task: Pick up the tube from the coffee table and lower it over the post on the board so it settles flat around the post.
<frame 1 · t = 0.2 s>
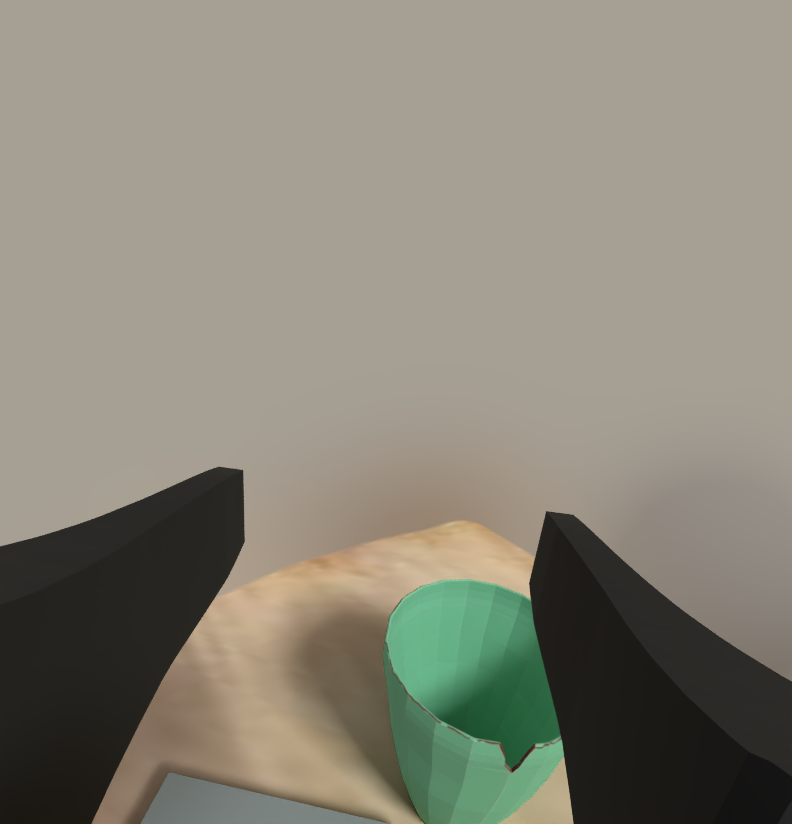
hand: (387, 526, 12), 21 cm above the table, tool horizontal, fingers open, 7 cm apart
mug: (481, 766, 28), on the table
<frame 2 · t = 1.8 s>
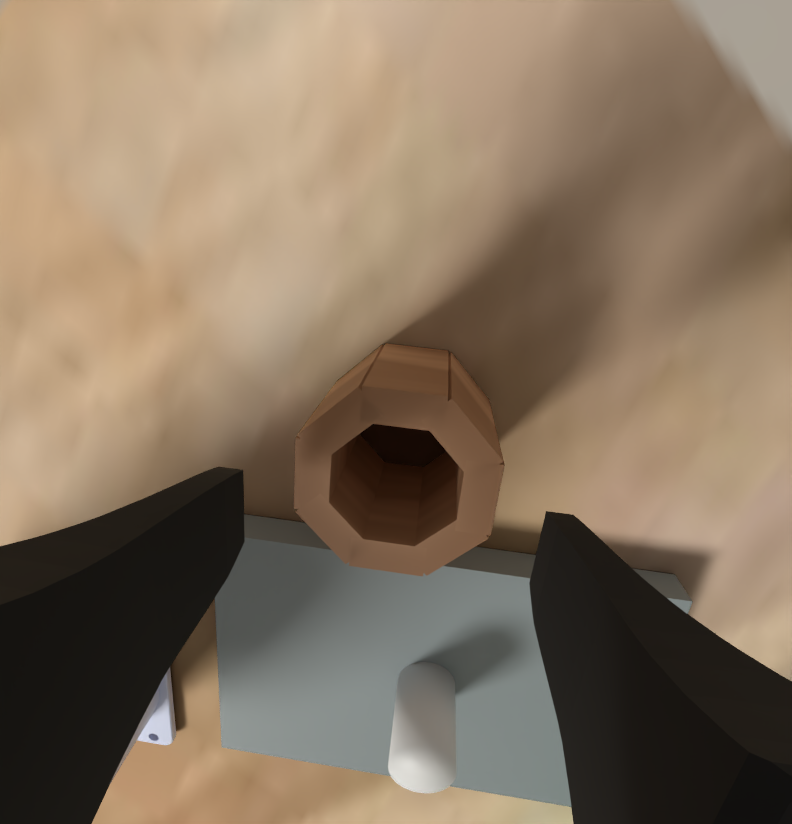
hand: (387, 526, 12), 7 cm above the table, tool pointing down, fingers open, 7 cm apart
post board: (427, 654, 22), on the table
tube: (408, 421, 18), on the table
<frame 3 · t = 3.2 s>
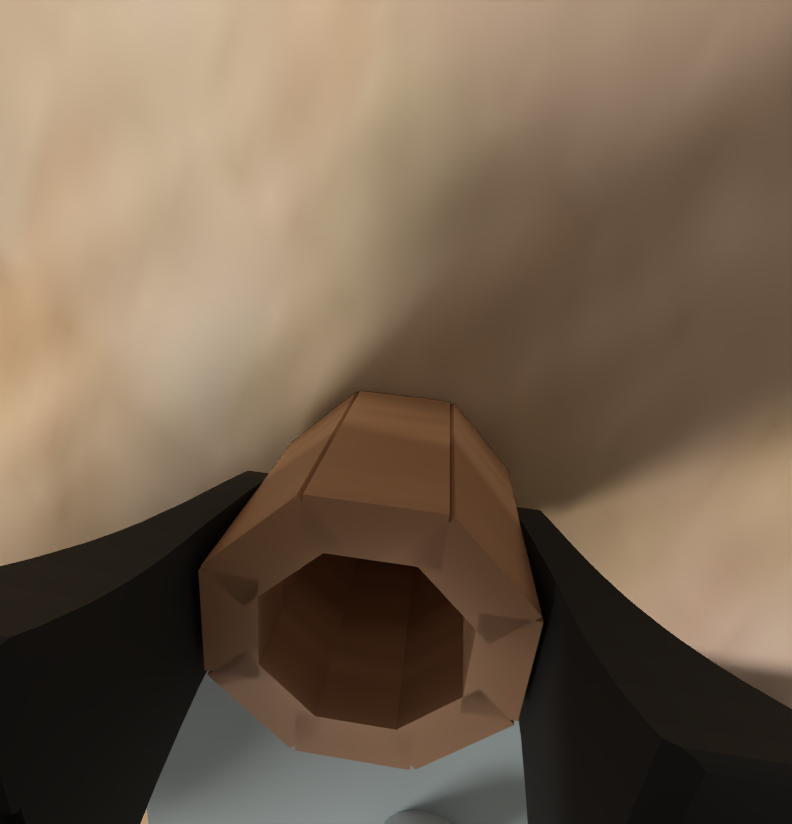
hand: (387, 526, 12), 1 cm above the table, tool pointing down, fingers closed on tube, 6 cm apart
post board: (422, 784, 17), on the table
tube: (394, 496, 13), on the table, touching gripper
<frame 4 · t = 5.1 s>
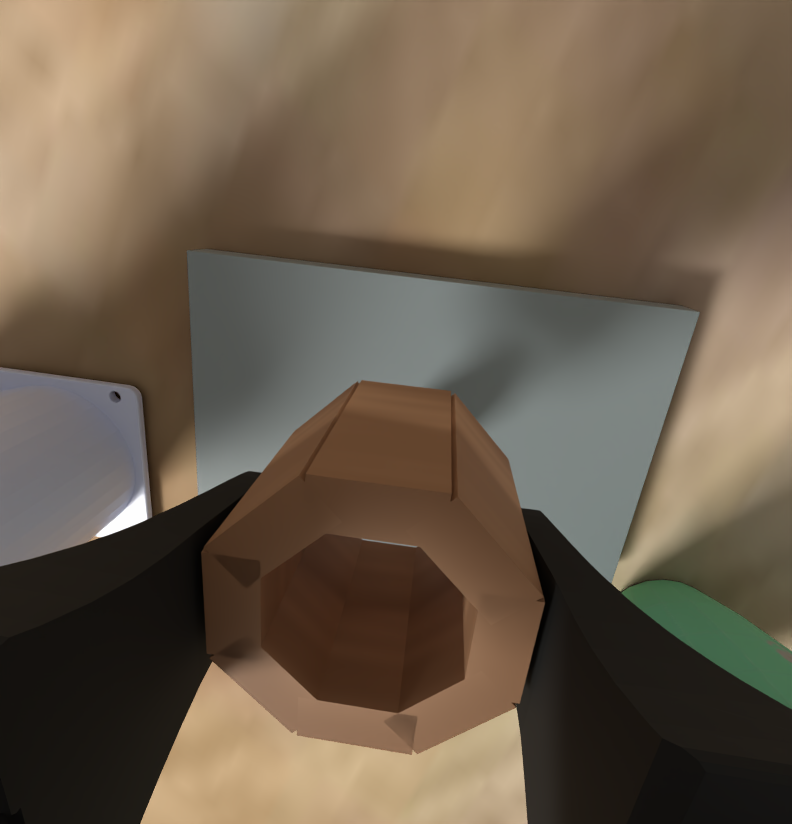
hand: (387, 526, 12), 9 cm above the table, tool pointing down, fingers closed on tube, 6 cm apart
post board: (417, 422, 21), on the table
tube: (395, 486, 13), point 8 cm above the table, touching gripper
mug: (681, 651, 24), on the table
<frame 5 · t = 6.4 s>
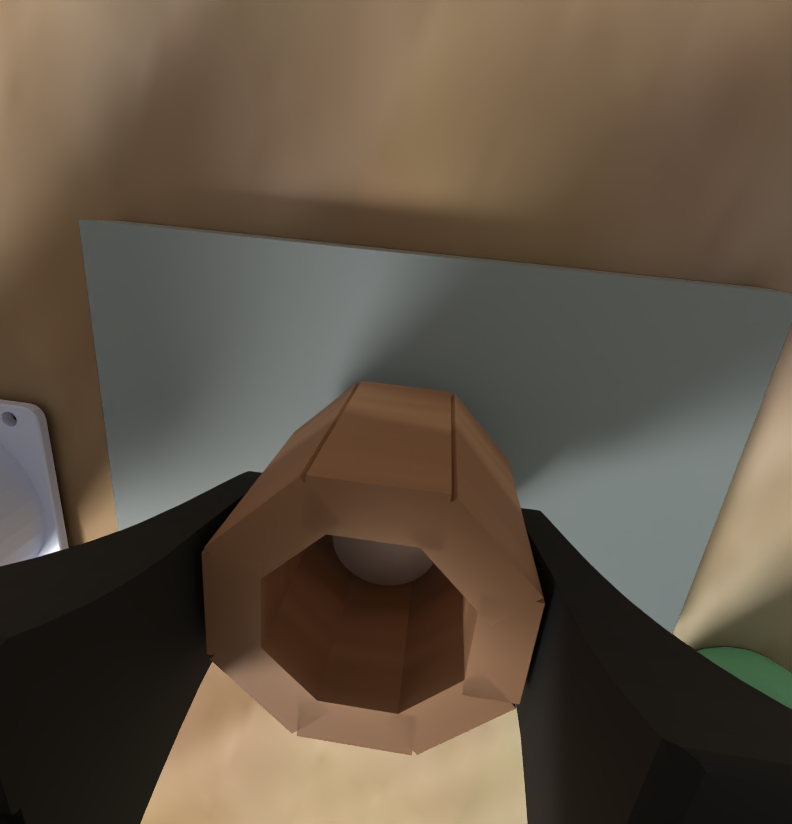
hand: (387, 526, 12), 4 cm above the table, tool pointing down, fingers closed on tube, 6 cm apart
post board: (404, 448, 16), on the table
tube: (395, 487, 13), point 3 cm above the table, touching gripper
mug: (745, 732, 19), on the table
when the fingers open (4 cm above the table, at t = 7.1 s): tube drops 1 cm, resting on post board.
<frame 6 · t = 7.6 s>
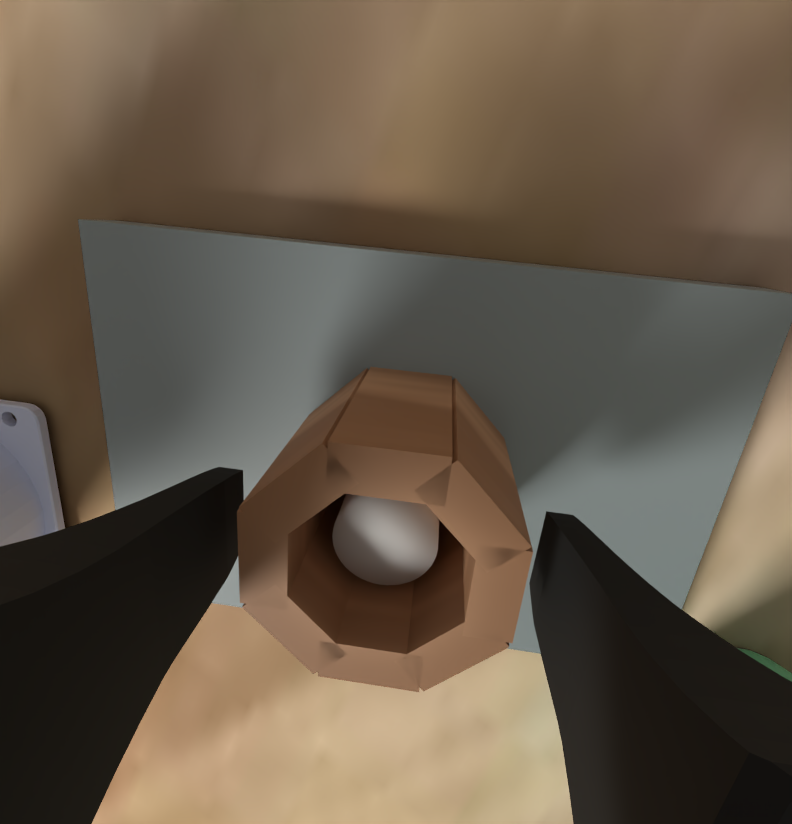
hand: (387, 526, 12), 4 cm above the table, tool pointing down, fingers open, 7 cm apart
post board: (404, 448, 16), on the table
tube: (401, 464, 14), point 1 cm above the table, touching post board
mug: (745, 732, 19), on the table
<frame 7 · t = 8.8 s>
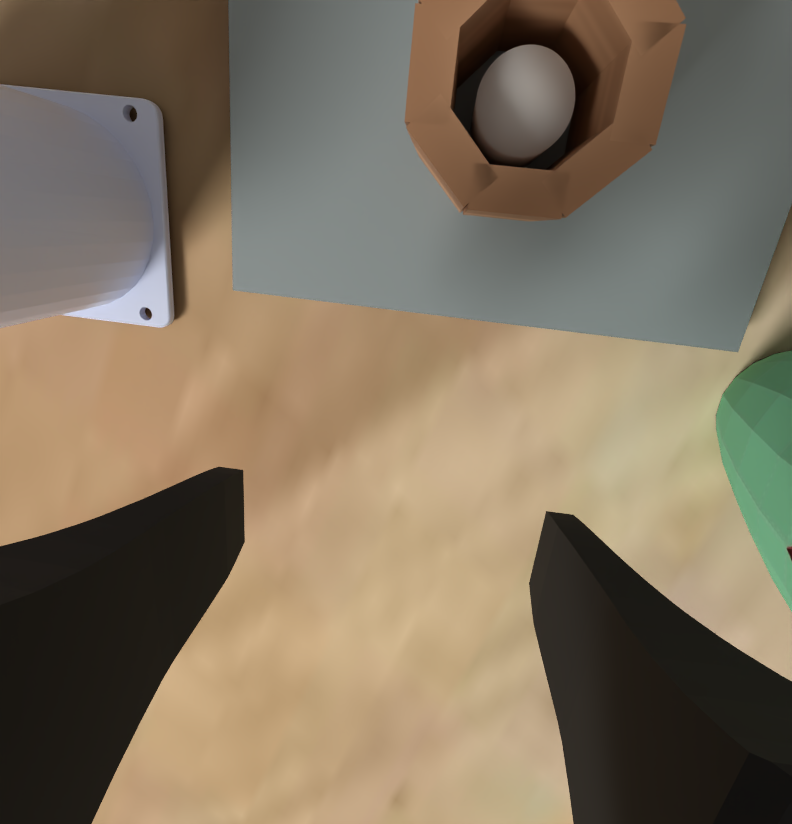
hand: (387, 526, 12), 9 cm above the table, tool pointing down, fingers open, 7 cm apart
post board: (504, 137, 17), on the table
tube: (511, 121, 15), point 1 cm above the table, touching post board
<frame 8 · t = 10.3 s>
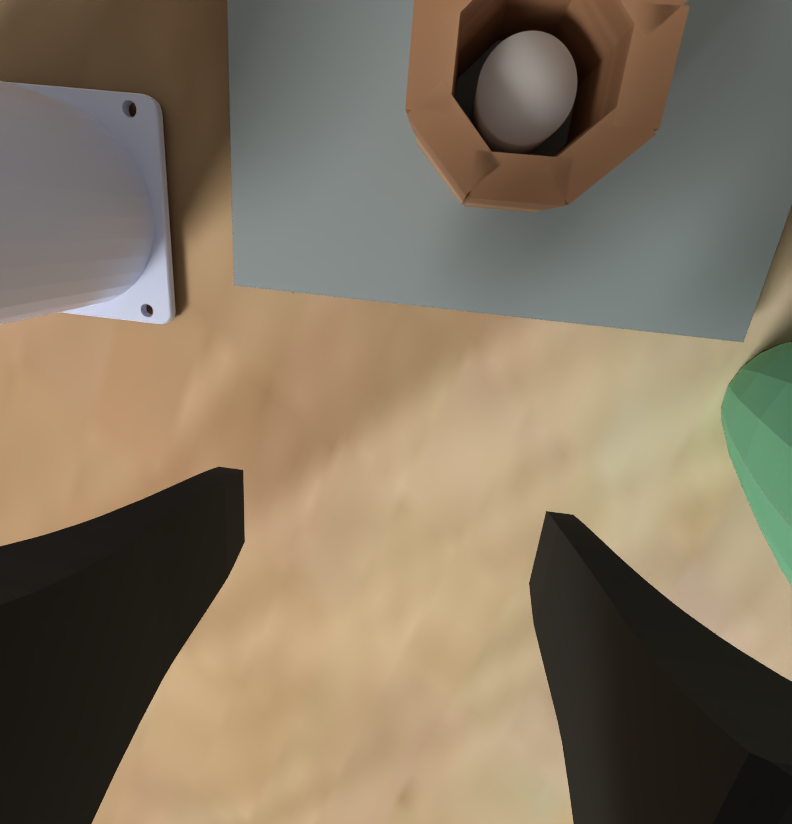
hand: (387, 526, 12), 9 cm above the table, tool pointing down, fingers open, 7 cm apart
post board: (505, 128, 17), on the table
tube: (512, 111, 15), point 1 cm above the table, touching post board
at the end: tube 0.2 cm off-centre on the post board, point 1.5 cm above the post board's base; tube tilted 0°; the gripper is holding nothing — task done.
